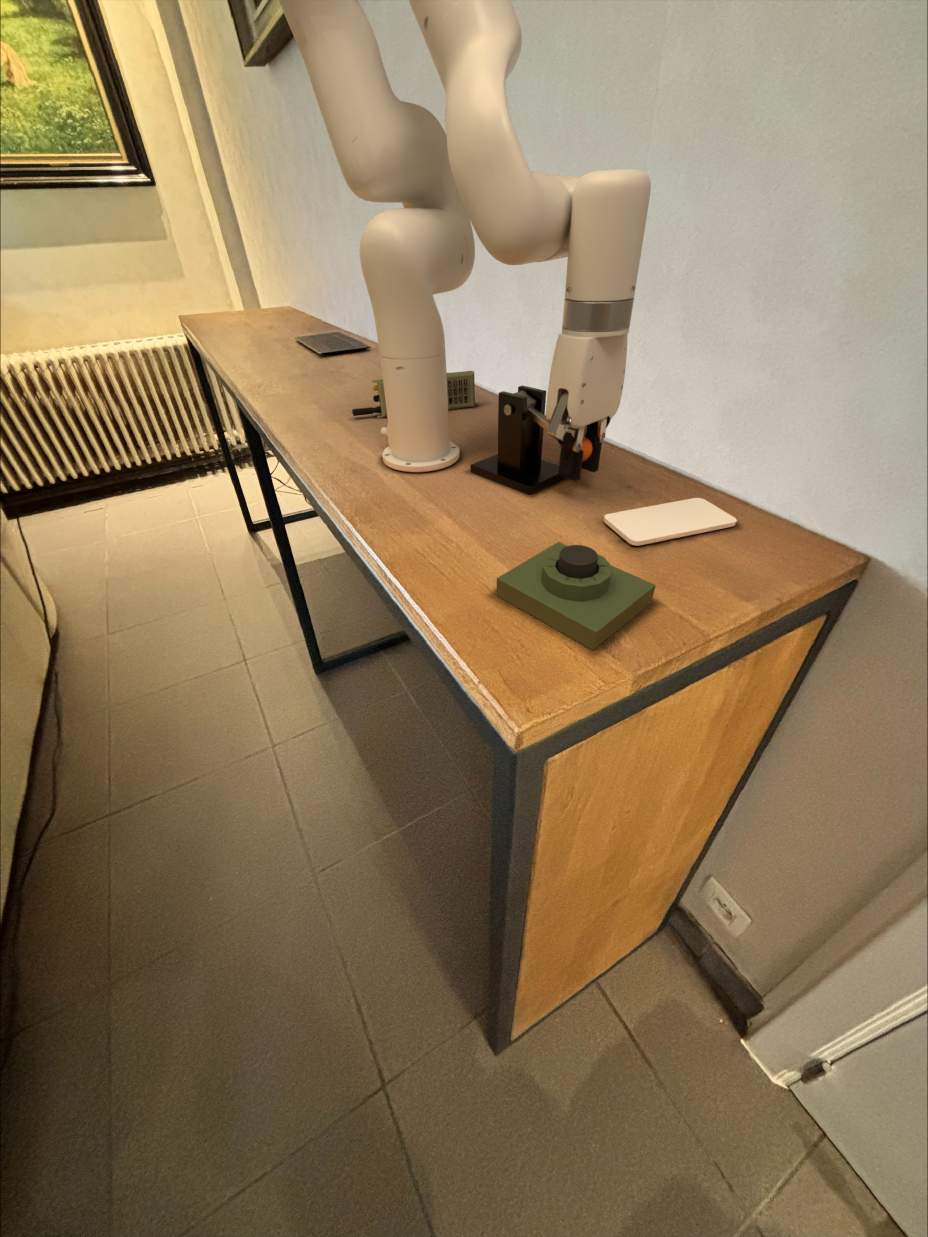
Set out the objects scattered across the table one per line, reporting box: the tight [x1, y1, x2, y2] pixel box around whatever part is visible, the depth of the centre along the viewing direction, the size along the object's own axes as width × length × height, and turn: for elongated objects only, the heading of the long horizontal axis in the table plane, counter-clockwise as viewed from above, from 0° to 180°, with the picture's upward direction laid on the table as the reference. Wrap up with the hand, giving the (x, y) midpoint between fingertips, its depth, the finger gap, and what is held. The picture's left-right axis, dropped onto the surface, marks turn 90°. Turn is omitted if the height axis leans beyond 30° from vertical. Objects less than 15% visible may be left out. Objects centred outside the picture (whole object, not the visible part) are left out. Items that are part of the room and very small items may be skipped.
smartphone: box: [603, 497, 737, 546], centre depth 62 cm, size 7×1×15 cm
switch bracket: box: [469, 385, 566, 496], centre depth 72 cm, size 12×9×12 cm
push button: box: [558, 544, 599, 579], centre depth 48 cm, size 4×4×2 cm
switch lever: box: [513, 391, 593, 462], centre depth 67 cm, size 14×3×3 cm, turn 44°
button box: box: [495, 541, 656, 651], centre depth 49 cm, size 12×10×4 cm
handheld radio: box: [351, 370, 476, 419], centre depth 99 cm, size 7×3×25 cm
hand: (578, 472), depth 67 cm, fingers closed on switch lever, 3 cm apart
